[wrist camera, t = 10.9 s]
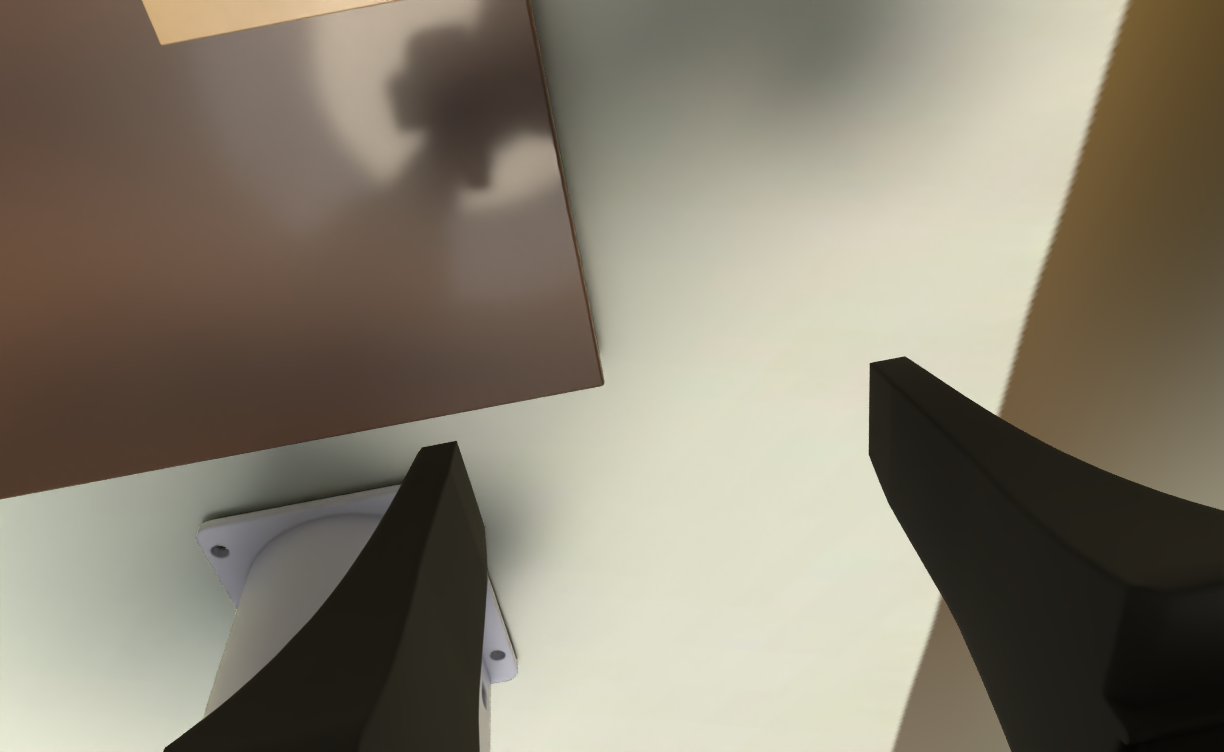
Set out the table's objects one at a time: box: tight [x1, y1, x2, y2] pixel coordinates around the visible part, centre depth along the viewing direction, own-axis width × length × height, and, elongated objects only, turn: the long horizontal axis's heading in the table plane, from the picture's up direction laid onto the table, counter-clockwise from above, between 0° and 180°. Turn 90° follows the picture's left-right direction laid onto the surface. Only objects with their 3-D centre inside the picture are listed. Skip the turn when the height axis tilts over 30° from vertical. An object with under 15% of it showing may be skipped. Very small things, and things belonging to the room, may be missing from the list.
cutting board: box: [0, 0, 604, 499], centre depth 20 cm, size 18×18×2 cm
